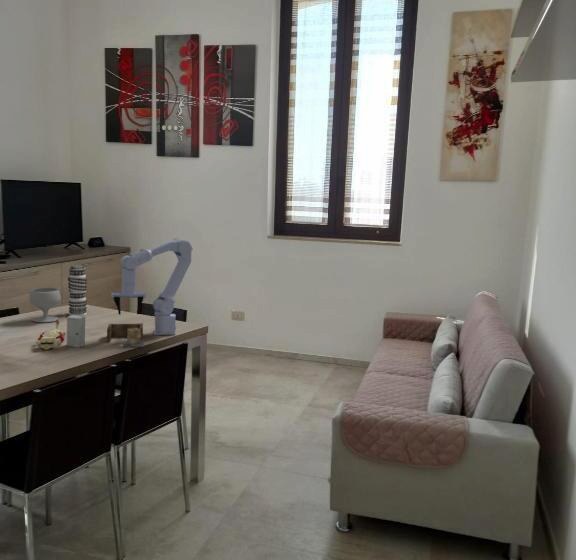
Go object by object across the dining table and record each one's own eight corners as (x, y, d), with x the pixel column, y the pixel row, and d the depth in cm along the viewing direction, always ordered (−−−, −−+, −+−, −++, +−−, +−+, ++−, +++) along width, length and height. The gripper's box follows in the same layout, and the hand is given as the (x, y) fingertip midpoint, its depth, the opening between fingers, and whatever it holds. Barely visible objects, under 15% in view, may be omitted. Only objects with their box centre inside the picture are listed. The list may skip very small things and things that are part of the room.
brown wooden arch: (142, 335, 247) (142, 323, 246) (142, 341, 237) (142, 329, 236) (109, 335, 243) (109, 323, 243) (107, 342, 234) (107, 329, 233)
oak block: (136, 341, 234) (136, 327, 233) (140, 343, 231) (140, 329, 231) (127, 342, 232) (127, 328, 231) (131, 345, 229) (131, 330, 228)
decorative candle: (64, 315, 278) (63, 266, 274) (74, 311, 287) (73, 264, 284) (81, 316, 277) (80, 267, 273) (90, 313, 286) (90, 265, 282)
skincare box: (66, 345, 226) (65, 316, 224) (73, 343, 230) (73, 314, 228) (78, 347, 224) (78, 318, 222) (86, 344, 228) (85, 316, 226)
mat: (144, 342, 236) (144, 340, 236) (143, 347, 229) (143, 345, 229) (124, 342, 234) (124, 341, 234) (123, 347, 227) (123, 346, 227)
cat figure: (46, 338, 240) (32, 350, 216) (46, 318, 240) (32, 328, 215) (70, 338, 242) (59, 349, 218) (70, 318, 242) (59, 327, 218)
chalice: (43, 325, 257) (43, 293, 255) (23, 321, 263) (22, 290, 261) (67, 319, 270) (67, 289, 268) (47, 315, 276) (46, 286, 274)
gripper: (145, 281, 245) (145, 311, 247) (111, 281, 242) (112, 312, 244) (145, 284, 238) (145, 315, 241) (110, 284, 235) (111, 315, 237)
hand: (128, 313), depth 242 cm, fingers open, 7 cm apart
